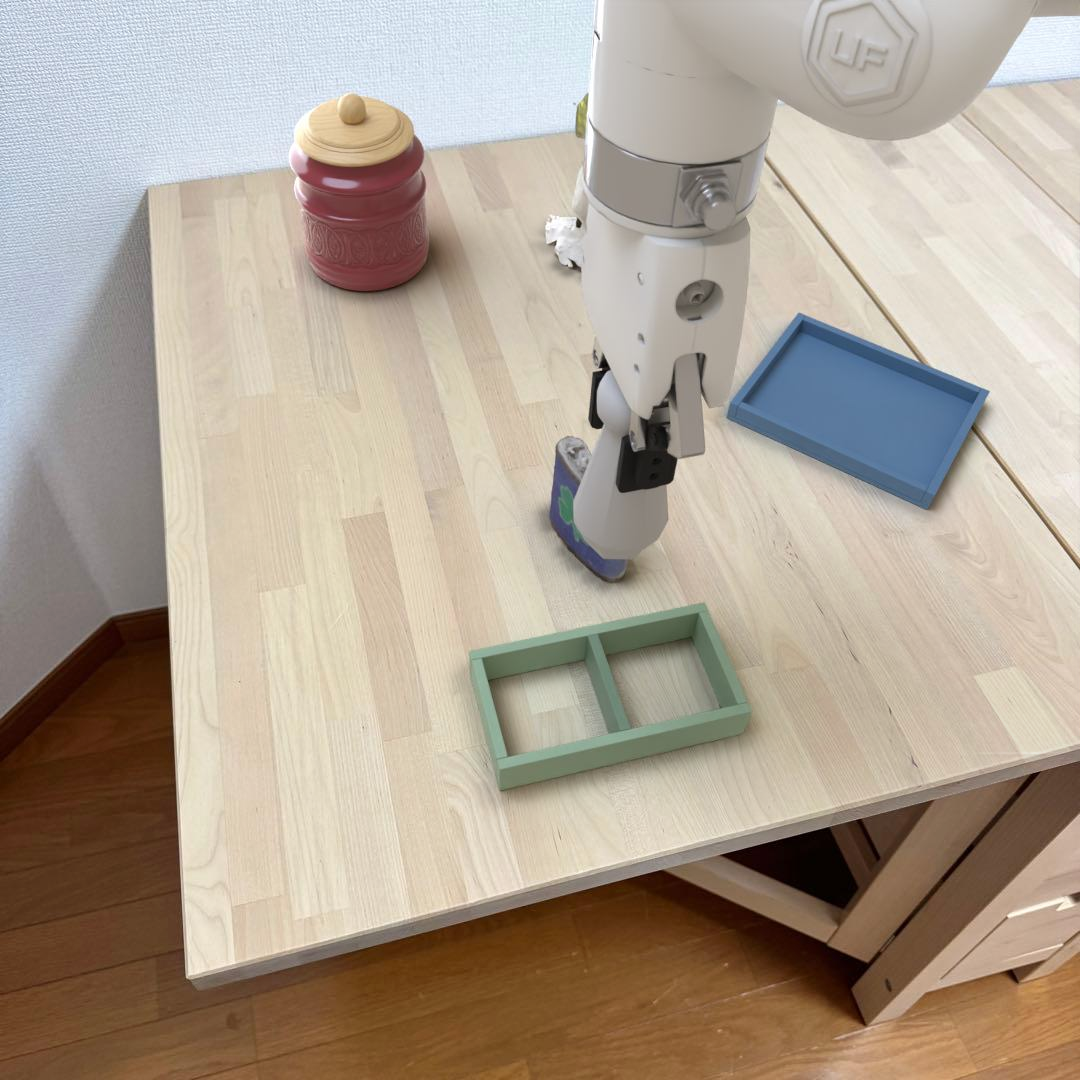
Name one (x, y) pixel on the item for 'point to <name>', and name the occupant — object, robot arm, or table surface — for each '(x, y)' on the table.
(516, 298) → the table surface
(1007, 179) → the table surface
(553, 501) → the flask
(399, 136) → the kitchen canister
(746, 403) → the tray
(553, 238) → the mushroom
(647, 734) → the frame
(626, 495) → the salt shaker
